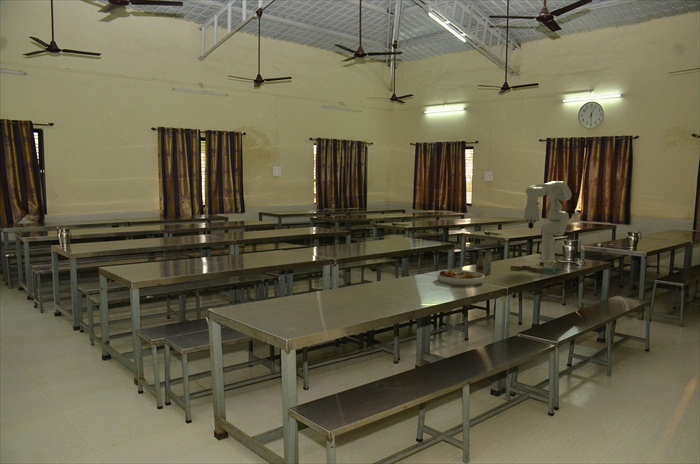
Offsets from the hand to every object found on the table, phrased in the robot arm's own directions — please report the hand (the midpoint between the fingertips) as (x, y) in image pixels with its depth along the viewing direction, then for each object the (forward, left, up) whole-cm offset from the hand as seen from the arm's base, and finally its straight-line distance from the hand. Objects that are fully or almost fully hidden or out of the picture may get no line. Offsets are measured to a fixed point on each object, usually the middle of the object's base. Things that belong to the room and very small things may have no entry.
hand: (531, 228), depth 398 cm
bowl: (+83, -26, -30) cm, 92 cm away
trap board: (+12, +6, -29) cm, 32 cm away
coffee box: (+45, -22, -29) cm, 58 cm away
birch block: (+14, +16, -26) cm, 34 cm away
